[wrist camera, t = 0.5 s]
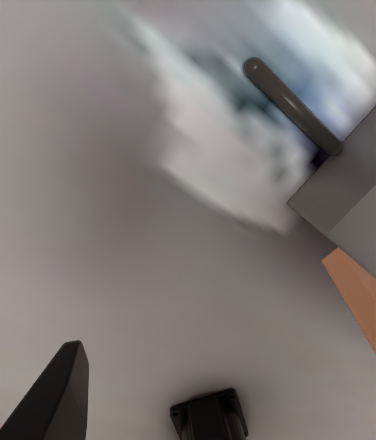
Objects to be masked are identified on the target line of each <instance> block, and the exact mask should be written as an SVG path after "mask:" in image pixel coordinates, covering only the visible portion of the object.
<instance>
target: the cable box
mask: <svg viewBox="0 0 376 440" xmlns="http://www.w3.org/2000/svg"><path fill="white" fill-rule="evenodd" d="M244 70H245V73H246V75H247V76H248V77H249V78H250V79H251V80H252V81H253V82H254V83H255V84H256V85H257V86H258V87H259V88H260V89H261V90H262V91H263V92H264V93H265V94H266V95H267V96H268V97H269V98H270V99H271V100H272V101H273V102H275V103H276V104H277V105H278V106H279V107H280V108H281V109H282V110H283V111H284V112H285V113H286V114H287V115H288V116H289V117H290V118H291V119H292V120H293V121H294V122H295V123H296V124H297V125H298V126H299V127H300V128H301V129H302V130H303V131H304V132H305V133H306V134H307V135H308V136H309V137H310V138H311V139H312V140H313V141H314V142H315V143H316V144H317V145H318V146H319V147H320V148H321V149H322V150H323V151H324V152H325V153H326V154H327V155H329V158H328V159H327V160H326V161H325V162H324V163H323V164H322V165H321V166H320V167H319V168H318V169H317V171H316V172H315V173H314V174H313V175H312V176H311V177H310V178H309V179H308V180H307V181H306V182H305V184H304V185H303V186H302V187H301V188H300V189H299V190H298V191H297V192H296V193H295V194H294V195H293V196H292V198H291V199H290V200H289V201H288V202H287V204H288V205H289V206H290V207H292V208H293V209H294V210H295V211H296V212H297V213H299V214H300V215H301V216H302V217H303V218H304V219H305V220H307V221H308V222H309V223H310V224H311V225H312V226H314V227H315V228H316V229H317V230H318V231H319V232H321V233H322V234H323V235H324V236H325V237H326V238H328V239H329V240H330V241H331V242H332V243H333V244H335V245H336V246H337V247H339V248H340V249H343V250H345V251H346V252H347V253H348V254H349V255H351V256H352V257H353V258H354V259H355V260H356V261H357V262H359V263H360V264H361V265H362V266H363V267H364V268H366V269H367V270H368V271H369V272H370V273H371V274H373V275H374V276H375V277H376V107H375V108H374V109H373V110H372V111H371V112H370V113H369V114H368V115H367V116H366V118H365V119H364V120H363V121H362V122H361V123H360V124H359V125H358V126H357V127H356V128H355V129H354V131H353V132H352V133H351V134H350V135H349V136H348V137H347V138H346V139H345V140H344V141H343V142H342V143H341V141H340V140H339V139H338V138H337V137H336V136H335V135H334V134H333V133H332V132H331V131H330V130H329V129H328V128H327V127H326V126H325V125H324V124H323V123H322V122H321V121H320V120H319V119H318V118H317V117H316V116H315V115H314V114H313V113H312V112H311V111H310V110H309V109H308V108H307V107H306V105H305V104H304V103H303V102H302V101H301V100H300V99H299V98H298V97H297V96H296V95H295V94H294V93H293V92H292V91H291V90H290V89H289V88H288V87H287V86H286V85H285V84H284V83H283V82H282V81H281V80H280V79H279V78H278V77H277V76H276V75H275V74H274V73H273V72H272V71H271V70H270V69H269V68H268V67H267V65H266V64H265V63H264V62H263V61H262V60H261V59H259V58H256V57H253V58H250V59H249V60H248V61H247V62H246V64H245V67H244Z"/></svg>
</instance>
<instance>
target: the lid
mask: <svg viewBox="0 0 376 440" xmlns="http://www.w3.org/2000/svg"><path fill="white" fill-rule="evenodd" d="M321 261H322V263H323V264H324V266H325V268H326V269H327V271H328V273H329V275H330V276H331V278H332V280H333V281H334V283H335V285H336V287H337V288H338V290H339V292H340V293H341V295H342V297H343V299H344V300H345V302H346V304H347V305H348V307H349V309H350V311H351V312H352V314H353V316H354V318H355V319H356V321H357V323H358V324H359V326H360V328H361V330H362V331H363V333H364V335H365V336H366V338H367V340H368V342H369V343H370V345H371V347H372V348H373V350H374V352H375V354H376V277H375V276H374V275H373V274H371V273H370V272H369V271H368V270H367V269H366V268H364V267H363V266H362V265H361V264H360V263H359V262H357V261H356V260H355V259H354V258H353V257H352V256H351V255H349V254H348V253H347V252H346V251H345V250H343V249H340V248H339V247H338V248H337V249H335V250H334V251H333V252H331V253H330V254H329V255H328V256H326V257H325V258H324V259H323V260H321Z"/></svg>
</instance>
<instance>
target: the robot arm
mask: <svg viewBox="0 0 376 440" xmlns="http://www.w3.org/2000/svg"><path fill="white" fill-rule="evenodd" d="M88 382H89V363H88V359H87V356H86V353H85V350H84V347H83V344H82V342H81V341H79V340H77V341H70V342H66V343H64V344H63V345H62V347H61V348H60V349H59V351H58V352H57V353H56V355H55V356H54V357H53V359H52V360H51V361H50V363H49V364H48V365H47V367H46V368H45V369H44V371H43V372H42V373H41V375H40V376H39V377H38V379H37V380H36V382H35V383H34V384H33V386H32V387H31V388H30V390H29V391H28V392H27V394H26V395H25V396H24V398H23V399H22V400H21V402H20V403H19V404H18V406H17V407H16V408H15V410H14V411H13V412H12V414H11V415H10V416H9V418H8V419H7V421H6V422H5V423H4V425H3V426H2V427H1V429H0V440H85V438H86V430H87V412H88ZM170 417H171V419H172V421H173V424H174V426H175V428H176V431H177V433H178V435H179V438H180V440H246V438H245V437H247V436H248V430H247V427H246V423H245V420H244V417H243V413H242V410H241V406H240V403H239V400H238V396H237V393H236V391H235V390H234V389H230V390H227V391H224V392H220V393H217V394H214V395H211V396H207V397H204V398H201V399H198V400H195V401H191V402H188V403H185V404H182V405H178V406H175V407H173V408H171V409H170Z"/></svg>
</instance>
